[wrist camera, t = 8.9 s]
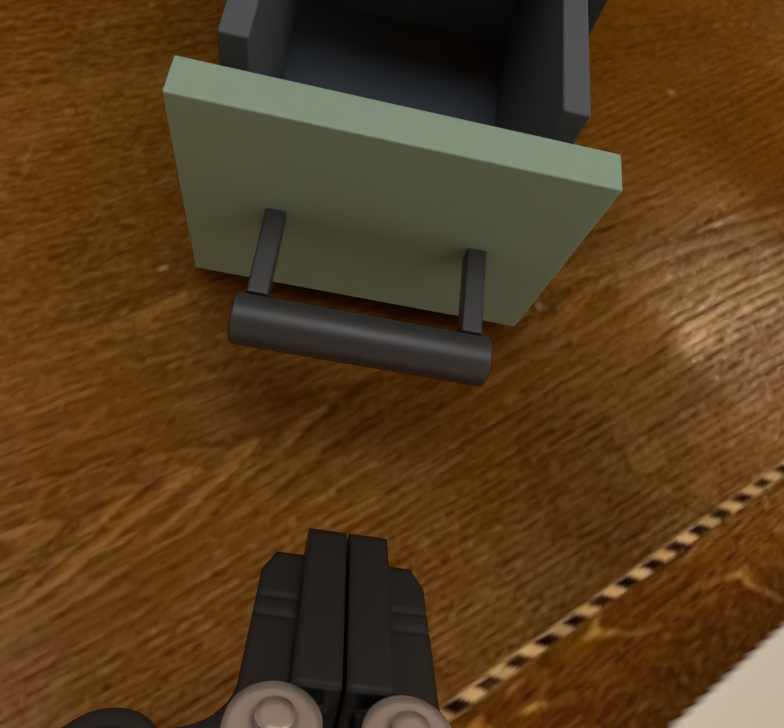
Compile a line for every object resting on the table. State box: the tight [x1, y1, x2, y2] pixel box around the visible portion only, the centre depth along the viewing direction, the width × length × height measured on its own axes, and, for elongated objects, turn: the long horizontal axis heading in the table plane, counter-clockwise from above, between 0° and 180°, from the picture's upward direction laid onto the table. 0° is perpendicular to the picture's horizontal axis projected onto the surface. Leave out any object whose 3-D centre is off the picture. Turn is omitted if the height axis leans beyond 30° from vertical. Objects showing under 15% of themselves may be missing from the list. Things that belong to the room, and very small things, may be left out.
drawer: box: [162, 0, 622, 386], centre depth 21 cm, size 18×11×8 cm, turn 174°
